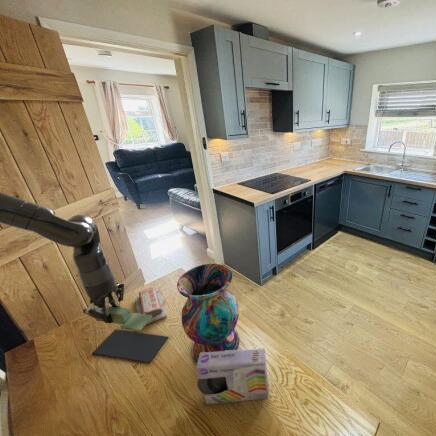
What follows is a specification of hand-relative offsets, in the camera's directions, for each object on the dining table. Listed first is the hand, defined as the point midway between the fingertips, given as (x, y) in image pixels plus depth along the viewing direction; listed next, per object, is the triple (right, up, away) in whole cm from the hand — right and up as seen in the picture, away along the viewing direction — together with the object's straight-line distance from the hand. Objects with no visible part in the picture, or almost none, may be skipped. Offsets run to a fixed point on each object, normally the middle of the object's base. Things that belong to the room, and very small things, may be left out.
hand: (113, 318), depth 81 cm
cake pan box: (+44, -19, -9) cm, 49 cm away
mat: (+3, -12, +5) cm, 13 cm away
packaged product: (0, -5, +21) cm, 22 cm away
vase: (+33, -12, +6) cm, 36 cm away
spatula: (+3, -1, 0) cm, 3 cm away
